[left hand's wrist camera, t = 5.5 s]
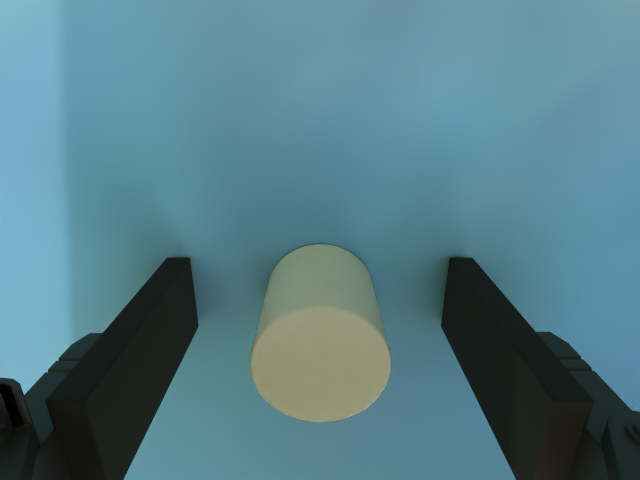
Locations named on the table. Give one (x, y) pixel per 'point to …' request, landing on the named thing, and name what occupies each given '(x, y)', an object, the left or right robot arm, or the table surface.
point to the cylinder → (320, 337)
